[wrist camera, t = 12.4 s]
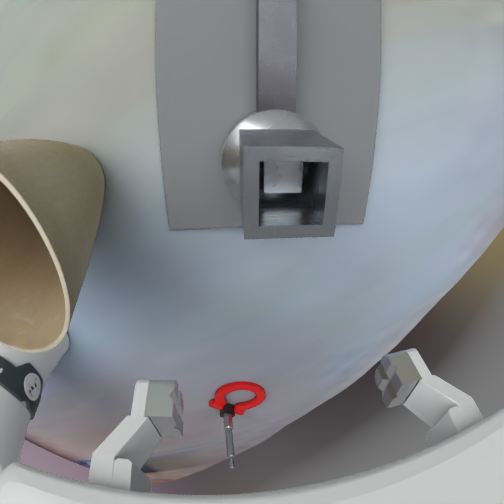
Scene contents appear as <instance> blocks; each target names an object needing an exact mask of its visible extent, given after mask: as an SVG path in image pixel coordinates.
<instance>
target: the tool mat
mask: <svg viewBox="0 0 504 504" xmlns="http://www.w3.org/2000/svg"><path fill="white" fill-rule="evenodd" d="M155 47H156V88H157V108H158V124H159V137H160V150H161V161H162V171H163V180H164V189H165V198H166V206H167V214H168V221H169V228H170V230H176V229H197V228H221V227H243V222H242V213H241V204H240V201H239V200H238V199H237V198H236V197H235V196H234V195H233V194H232V193H231V191H230V190H229V188H228V186H227V185H226V182H225V180H224V177H223V173H222V150H223V145H224V142H225V139H226V137H227V135H228V133H229V131H230V130H231V128H232V127H233V126H234V125H235V124H236V122H238V121H239V120H240V119H241V118H242V117H244V116H246V115H247V114H249V113H251V112H253V111H256V0H156V30H155ZM380 65H381V14H380V0H297V66H296V110H295V113H296V114H298V115H300V116H302V117H304V118H306V119H307V120H309V121H310V122H311V123H312V124H313V125H314V126H315V127H316V128H317V129H318V130H319V131H320V133H321V134H322V136H324V137H326V138H327V139H329V140H331V141H332V142H334V143H336V144H337V145H339V146H341V147H342V148H344V158H343V168H342V177H341V186H340V194H339V203H338V210H337V218H336V224H363V222H364V216H365V210H366V204H367V198H368V192H369V185H370V178H371V171H372V164H373V156H374V147H375V138H376V128H377V117H378V104H379V88H380Z"/></svg>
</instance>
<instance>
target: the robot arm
mask: <svg viewBox="0 0 504 504" xmlns="http://www.w3.org/2000/svg"><path fill="white" fill-rule="evenodd" d="M68 348H69V337H68V334H67V333H66V335H65V337H64V339H63V340H62V341H61V342H60V343H59V344H58V345H57V346H56V347H54V348H53V349H51V350H49V351H45V352H41V353H27V352H22V351H17V350H14V349H11V348H9V347H6V346H4V345H2V344H0V504H504V406H503V407H502V408H500V409H499V410H497V411H496V412H494V413H492V414H491V415H489V416H488V417H486V418H483V417H482V415H481V413H480V411H479V409H478V407H477V406H476V404H475V402H474V400H473V399H472V397H470V396H469V395H467V394H465V393H464V392H462V391H460V390H459V389H457V388H455V387H454V386H452V385H450V384H449V383H447V382H445V381H444V380H442V379H440V378H439V377H437V376H435V375H433V376H432V375H431V373H430V371H429V370H428V368H427V366H426V364H425V363H424V361H423V359H422V358H421V356H420V354H419V353H418V351H417V350H416V349H414V348H412V349H409V350H405V351H400V352H396V353H393V354H388V355H385V356H383V357H382V359H381V363H382V364H381V365H380V366H379V367H378V368H377V370H376V372H375V381H376V384H377V387H378V388H379V389H380V390H382V391H383V394H382V398H383V400H384V402H385V405H386V407H387V408H390V407H394V406H397V405H400V404H404V405H405V406H406V407H407V408H408V409H410V410H411V411H412V412H413V413H414V414H415V415H417V416H418V417H419V418H420V419H422V420H423V421H424V422H425V423H426V424H428V425H429V426H430V427H431V429H430V430H429V431H428V432H427V433H426V434H425V437H424V438H425V440H426V443H427V445H428V448H426V449H424V450H422V451H419V452H417V453H414V454H412V455H410V456H407V457H404V458H402V459H400V460H397V461H394V462H391V463H388V464H385V465H382V466H379V467H377V468H374V469H370V470H367V471H364V472H361V473H357V474H353V475H350V476H346V477H343V478H338V479H334V480H330V481H326V482H321V483H316V484H311V485H306V486H301V487H295V488H289V489H282V490H275V491H268V492H258V493H246V494H231V495H173V494H158V493H151V479H150V478H149V477H148V476H146V475H145V474H144V473H143V472H142V471H141V470H140V469H141V468H142V466H143V465H144V463H145V462H146V461H147V459H148V458H149V456H150V455H151V453H152V452H153V450H154V449H155V448H156V446H157V445H158V443H159V442H160V440H161V439H162V438H161V437H183V422H182V419H181V417H180V416H181V415H182V414H183V398H182V394H181V391H179V390H178V383H177V380H137V382H136V385H135V391H134V397H133V404H132V410H131V416H126V417H125V419H124V420H123V421H122V422H121V423H120V424H119V425H118V426H117V427H116V428H115V429H114V431H113V432H112V433H111V434H110V435H109V436H108V437H107V438H106V439H105V440H104V441H103V443H102V444H101V445H100V446H99V447H98V448H97V449H96V450H95V451H94V452H93V454H92V460H91V466H90V473H89V481H88V483H86V482H81V481H77V480H73V479H69V478H65V477H62V476H58V475H55V474H52V473H48V472H45V471H42V470H39V469H36V468H33V467H30V466H27V465H25V464H21V463H20V461H21V454H22V448H23V443H24V439H25V435H26V432H27V428H28V425H29V421H30V420H31V419H33V418H34V415H35V413H36V411H37V408H38V405H39V402H40V399H41V393H42V389H43V387H44V385H45V384H46V382H47V380H48V378H49V376H50V374H51V373H52V371H53V369H54V368H55V367H56V366H57V365H58V363H59V360H60V359H61V358H62V356H63V355H64V354H65V353H66V352H67V350H68Z"/></svg>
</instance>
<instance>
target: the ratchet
mask: <svg viewBox="0 0 504 504" xmlns="http://www.w3.org/2000/svg"><path fill="white" fill-rule="evenodd" d="M296 66H297V0H256V111H253V112H251V113H249V114H247V115H246V116H244V117H242V118H241V119H240V120H239V121H238V122H236V124H235V125H234V126H233V127H232V128H231V130H230V131H229V133H228V135H227V137H226V139H225V142H224V145H223V150H222V173H223V177H224V180H225V182H226V185H227V186H228V188H229V190H230V191H231V193H232V194H233V195H234V196H235V197H236V198H237V199H238V200H239V201H240V170H239V129H290V130H314V131H315V132H317V133H319V134H321V133H320V131H319V130H318V129H317V128H316V127H315V126H314V125H313V124H312V123H311V122H310V121H309V120H307V119H306V118H304V117H302V116H300V115H298V114H296V113H295V110H296ZM321 135H322V134H321ZM302 173H303V161H259V189H263V192H264V193H301V188H302Z"/></svg>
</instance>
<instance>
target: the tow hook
mask: <svg viewBox="0 0 504 504" xmlns="http://www.w3.org/2000/svg"><path fill="white" fill-rule="evenodd" d="M235 390H249V391H252V392H254V393H255V394H256V396H255V398H254V399H253V400H251V401H249V402H245V403H238V404H236V405H235V406H233V405H231V404H227V403H226V399H225V398H224V397H225V395H227V394H228V393H230V392H232V391H235ZM264 399H265V391H264V389H263V388H262V387H261V386H259V385H258V384H255V383H251V382H234V383H229V384H227V385H224V386H222V387H221V388H219V389H218V390H217V392H216V394H215V399H214V400H210V402H209V407H212V408H216V409H219V410H220V417H223V419H224V429H225V434H226V447H227V457H228V458H229V467H230V468H234V458H233V457H234V456H235V455H234V444H233V434H232V429H233V423H232V418H233V417H234V416H235V414H239V415H243V413H244V410H246V409H250V408H253V407H256V406H257V405H259V404H260V403H262V402H263V400H264Z"/></svg>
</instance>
